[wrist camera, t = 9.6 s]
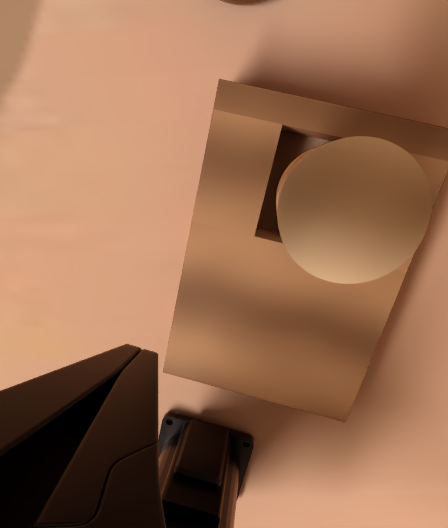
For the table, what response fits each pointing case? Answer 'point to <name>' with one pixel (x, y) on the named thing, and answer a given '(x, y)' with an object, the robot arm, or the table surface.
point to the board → (279, 262)
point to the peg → (353, 209)
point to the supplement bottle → (244, 2)
